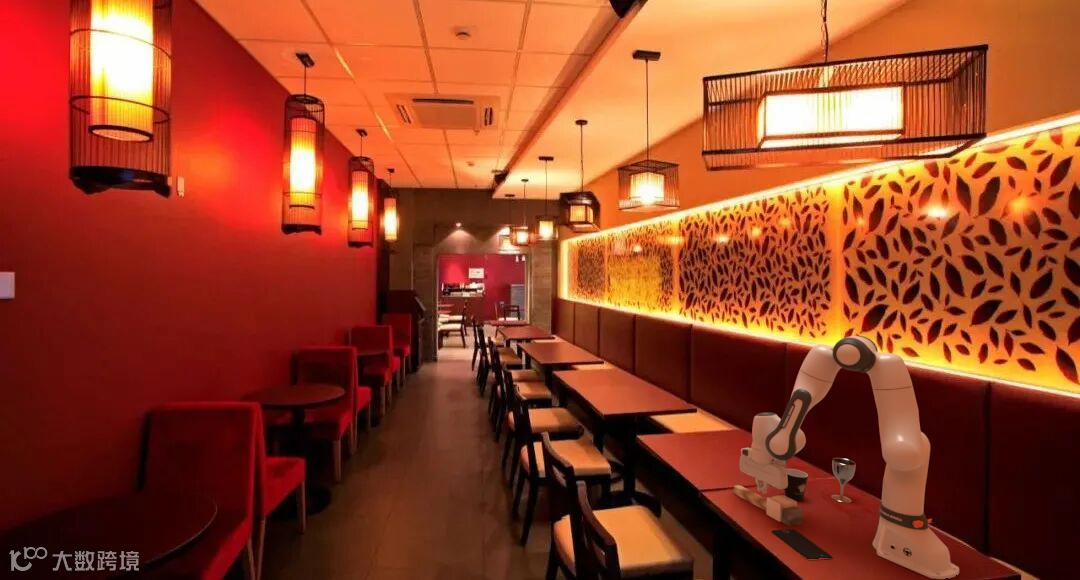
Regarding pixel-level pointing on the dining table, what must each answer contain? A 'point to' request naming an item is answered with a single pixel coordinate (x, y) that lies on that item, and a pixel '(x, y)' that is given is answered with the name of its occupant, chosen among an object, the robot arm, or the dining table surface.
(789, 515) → the rail
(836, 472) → the wine glass
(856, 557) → the dining table surface
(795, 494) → the coffee mug
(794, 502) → the keeper
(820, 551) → the cell phone
